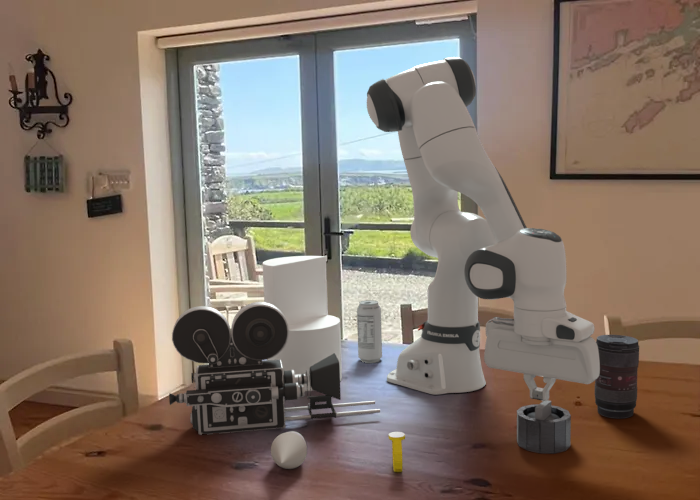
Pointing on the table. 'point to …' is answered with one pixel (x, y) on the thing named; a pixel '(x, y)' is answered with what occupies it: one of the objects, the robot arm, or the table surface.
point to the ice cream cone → (289, 450)
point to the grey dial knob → (543, 412)
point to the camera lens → (617, 376)
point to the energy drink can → (369, 331)
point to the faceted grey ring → (543, 431)
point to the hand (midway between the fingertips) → (539, 399)
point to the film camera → (248, 371)
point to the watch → (397, 450)
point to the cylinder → (302, 311)
